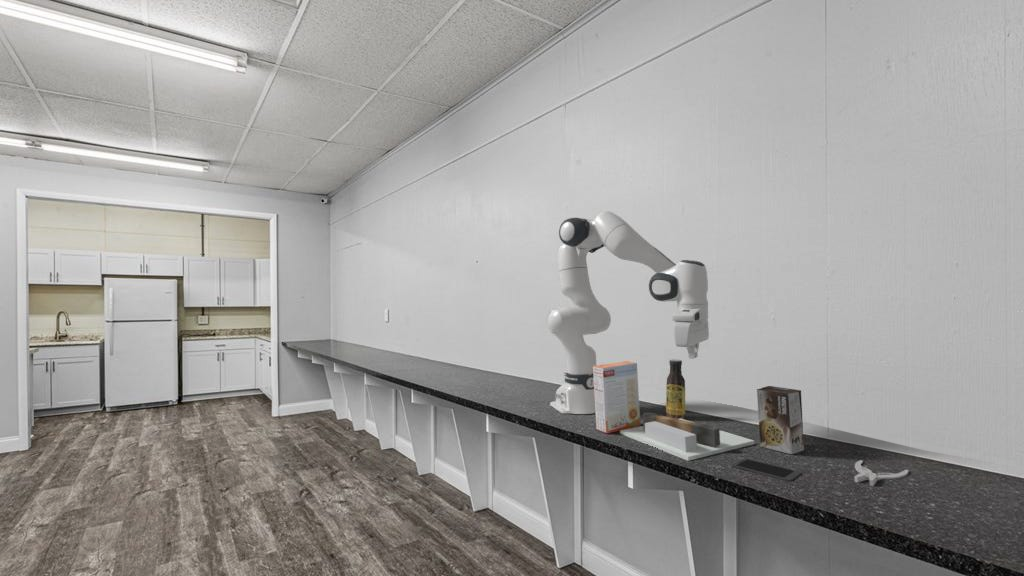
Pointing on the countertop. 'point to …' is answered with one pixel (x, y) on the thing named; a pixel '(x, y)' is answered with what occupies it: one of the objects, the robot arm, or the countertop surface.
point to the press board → (695, 454)
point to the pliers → (872, 477)
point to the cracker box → (616, 396)
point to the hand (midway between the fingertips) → (693, 358)
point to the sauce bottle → (675, 391)
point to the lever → (688, 428)
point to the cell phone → (767, 469)
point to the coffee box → (780, 419)
